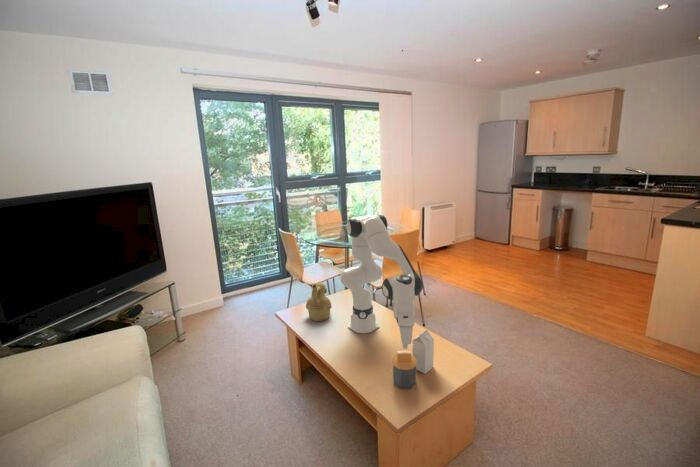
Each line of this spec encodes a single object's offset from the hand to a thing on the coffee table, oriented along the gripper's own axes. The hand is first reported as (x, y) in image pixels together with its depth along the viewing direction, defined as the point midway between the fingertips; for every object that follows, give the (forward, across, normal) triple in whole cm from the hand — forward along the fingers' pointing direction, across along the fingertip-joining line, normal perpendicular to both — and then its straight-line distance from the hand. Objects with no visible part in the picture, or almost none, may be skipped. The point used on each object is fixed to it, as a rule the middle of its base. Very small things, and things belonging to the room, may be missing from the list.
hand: (403, 341), depth 138 cm
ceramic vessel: (+21, -62, -48) cm, 81 cm away
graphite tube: (+20, 0, 0) cm, 20 cm away
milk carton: (+20, -10, +10) cm, 25 cm away
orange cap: (+12, 0, 0) cm, 12 cm away
